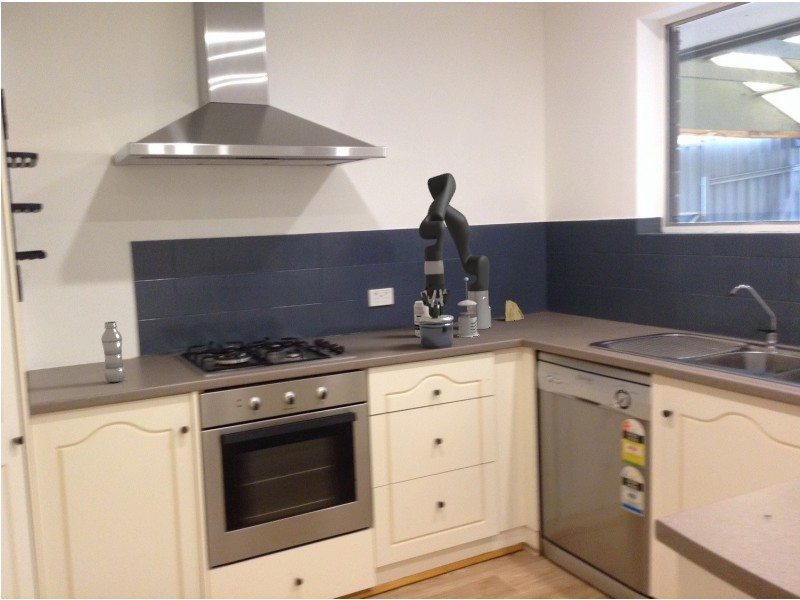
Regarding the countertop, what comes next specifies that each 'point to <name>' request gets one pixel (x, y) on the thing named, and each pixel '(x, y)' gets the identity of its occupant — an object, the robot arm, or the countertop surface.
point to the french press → (467, 319)
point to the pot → (436, 334)
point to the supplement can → (419, 315)
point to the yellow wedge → (512, 311)
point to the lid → (436, 316)
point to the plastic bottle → (113, 353)
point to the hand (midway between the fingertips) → (435, 315)
